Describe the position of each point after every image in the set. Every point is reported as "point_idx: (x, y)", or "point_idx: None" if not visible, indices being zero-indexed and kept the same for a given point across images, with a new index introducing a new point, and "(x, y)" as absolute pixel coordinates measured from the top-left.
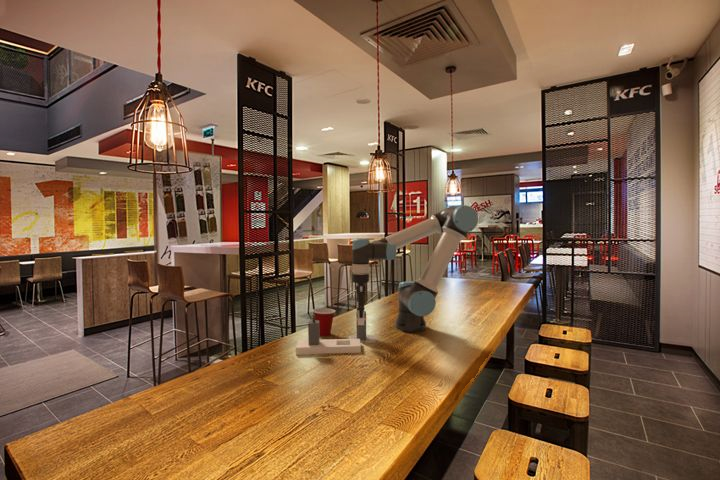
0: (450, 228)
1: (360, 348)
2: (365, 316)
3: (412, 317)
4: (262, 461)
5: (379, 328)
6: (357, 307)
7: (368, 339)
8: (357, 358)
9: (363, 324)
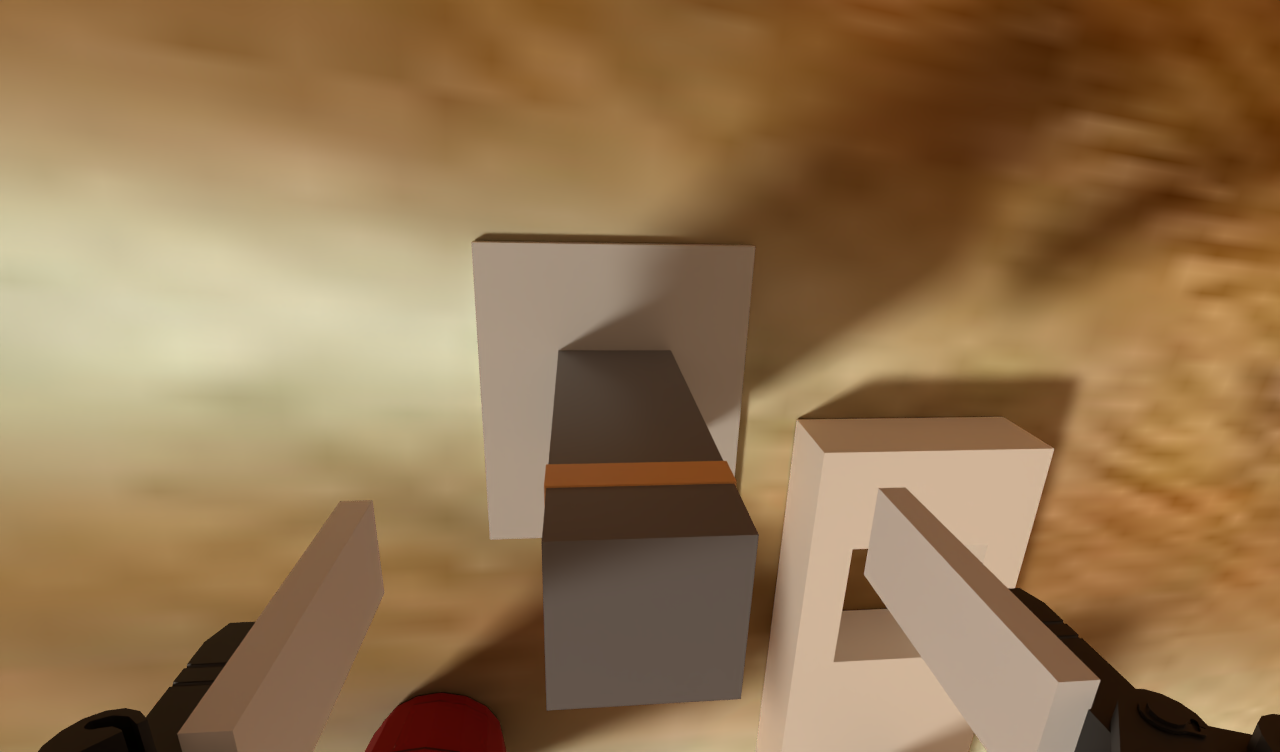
0: None
1: (1036, 439)
2: (739, 511)
3: None
4: None
5: (101, 117)
6: (316, 727)
7: (644, 324)
8: (1104, 445)
9: (910, 501)
